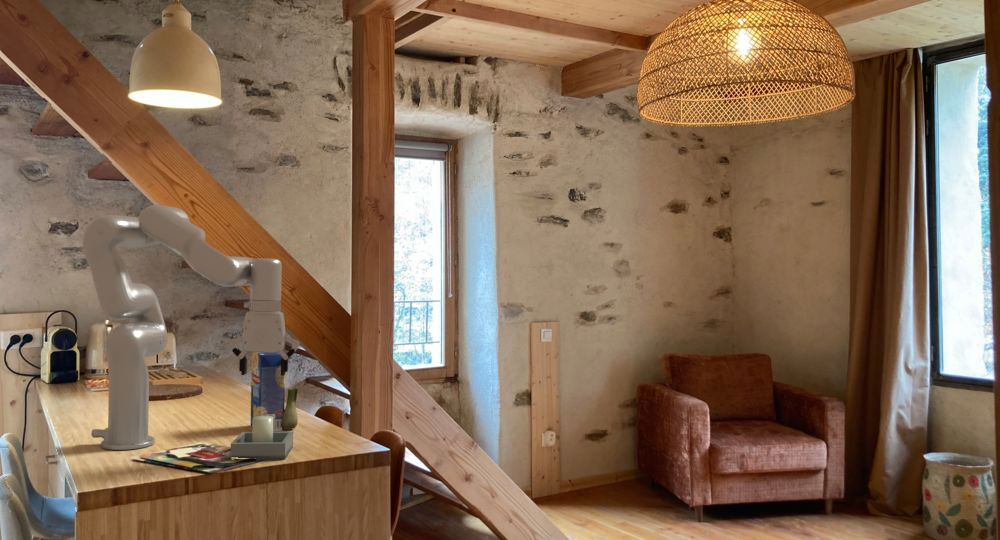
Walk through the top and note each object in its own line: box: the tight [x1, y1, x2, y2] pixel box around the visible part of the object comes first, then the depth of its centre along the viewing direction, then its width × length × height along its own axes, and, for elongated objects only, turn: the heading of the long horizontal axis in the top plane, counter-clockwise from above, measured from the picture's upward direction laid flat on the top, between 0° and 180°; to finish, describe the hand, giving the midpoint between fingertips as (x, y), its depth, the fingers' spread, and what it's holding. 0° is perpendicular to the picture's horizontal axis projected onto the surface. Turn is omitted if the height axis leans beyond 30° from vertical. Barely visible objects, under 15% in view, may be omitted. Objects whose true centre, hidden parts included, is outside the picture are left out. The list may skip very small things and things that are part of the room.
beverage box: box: [250, 352, 286, 432], centre depth 227 cm, size 7×11×22 cm, turn 31°
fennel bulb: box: [281, 387, 299, 430], centre depth 226 cm, size 6×5×12 cm
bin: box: [230, 431, 294, 461], centre depth 198 cm, size 13×13×4 cm
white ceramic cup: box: [251, 416, 273, 443], centre depth 198 cm, size 5×5×8 cm
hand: (263, 374), depth 198 cm, fingers open, 9 cm apart
